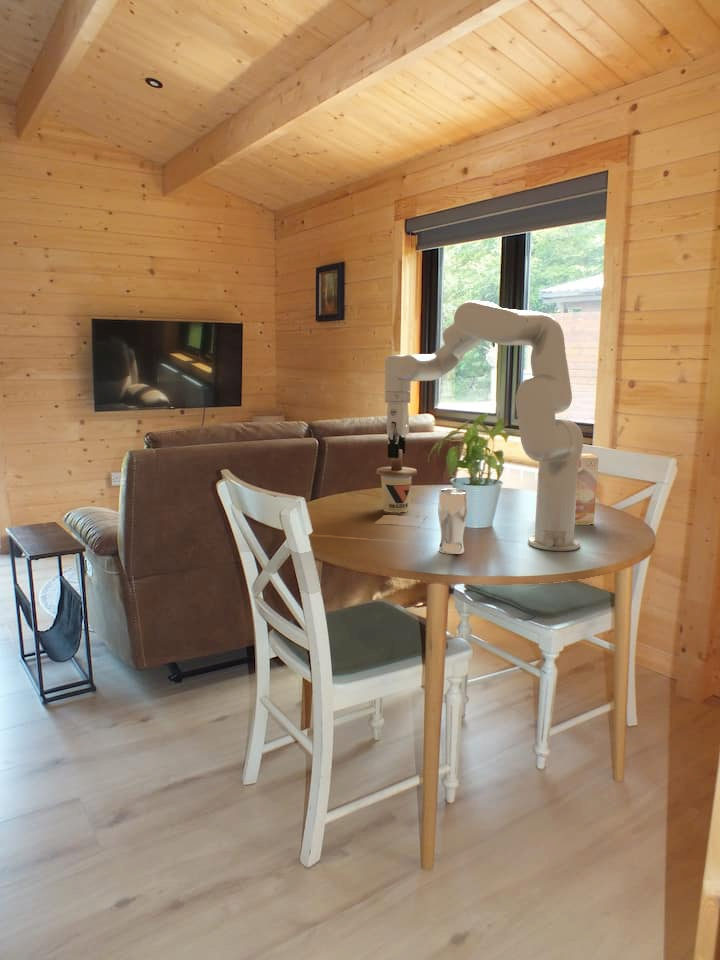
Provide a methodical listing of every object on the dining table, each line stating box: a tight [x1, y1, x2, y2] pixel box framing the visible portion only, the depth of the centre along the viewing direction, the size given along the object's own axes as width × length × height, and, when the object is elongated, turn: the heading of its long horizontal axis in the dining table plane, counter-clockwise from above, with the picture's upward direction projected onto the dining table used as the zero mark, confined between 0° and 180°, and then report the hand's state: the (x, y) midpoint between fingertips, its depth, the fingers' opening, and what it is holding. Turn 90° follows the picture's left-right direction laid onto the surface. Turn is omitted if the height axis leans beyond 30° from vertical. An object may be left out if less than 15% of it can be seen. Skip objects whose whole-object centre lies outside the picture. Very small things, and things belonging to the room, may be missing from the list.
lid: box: [376, 449, 417, 477], centre depth 211 cm, size 12×12×7 cm
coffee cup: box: [380, 475, 413, 512], centre depth 213 cm, size 9×9×12 cm
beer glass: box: [437, 488, 468, 555], centre depth 171 cm, size 7×7×15 cm
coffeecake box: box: [538, 453, 599, 526], centre depth 201 cm, size 15×7×20 cm, turn 91°
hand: (396, 455), depth 211 cm, fingers open, 9 cm apart
